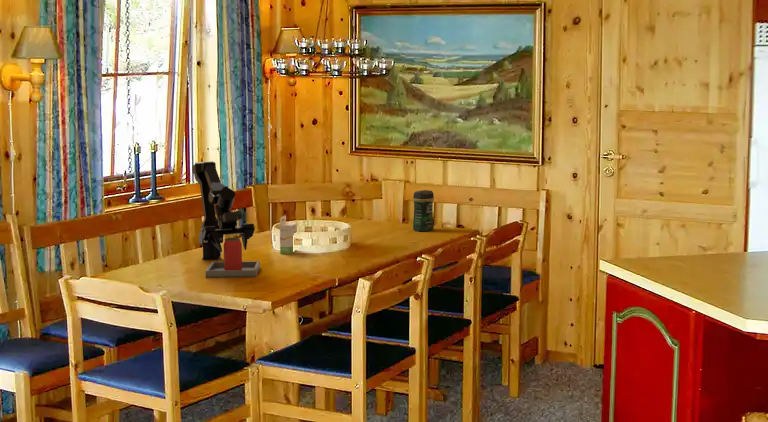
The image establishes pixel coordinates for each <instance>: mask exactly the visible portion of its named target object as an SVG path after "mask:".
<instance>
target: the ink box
mask: <svg viewBox="0 0 768 422" xmlns="http://www.w3.org/2000/svg"><path fill="white" fill-rule="evenodd" d="M297 225H298V224H297V222H287V216H286V214H285V215H283V216H281V217H280V218H279V249H280V250H279V251H280V253H279V254H283V255H285V254H287V255H292V254H293V253H294V252H293V235H294V233H296V232H297ZM292 252H293V253H292Z"/></svg>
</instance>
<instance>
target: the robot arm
mask: <svg viewBox="0 0 768 422" xmlns="http://www.w3.org/2000/svg"><path fill="white" fill-rule="evenodd" d="M216 164H217V163H216V162H215V161H198V162H194V164H193V165H192V167H191V168H192V169H191V170H192V174H193V175H194V179H195V181H196V182H197V183H198V185H199V189H200V195H201V205H202V212H203V222H202V224H201V227H200V228H201V229H200V231H199V235H198V243H199V245H200V244H201V245H202V260H219V259H220V258H221V257H222V252H223V249H222V244H224V236H225V235H226V236H227V235H239V234H240V235H241V243H242V247H243V249H244V250H246V251H247V249H248V248H247V247H248V240H249V239H251V238H253V237H254V232H255V230H256V229H255V224H254V223H243V224H242V226H241V227H237V226H238V221H240V220H242V219H243V213H242V211H241V209H240V210H235V211H232V209H231V208H233V205H234V202H235V199H236V192H235V191H234V190H233V189H231V188H229V186H228V185H227V186H226V185H225V184H223V183H222V181H221V180H220V177H219V176H220V175H219V173H218V170H217V167H216V166H217V165H216Z"/></svg>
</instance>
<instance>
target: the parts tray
mask: <svg viewBox="0 0 768 422" xmlns="http://www.w3.org/2000/svg"><path fill="white" fill-rule="evenodd" d="M260 269H261V261H260V260H258V261H257V260H254V261H253V260H252V261H247V260H245V261H243V260H242V270H224V261H211V263H210V264H209V266H208V267H207V268H206V270H205V279H215V278H217V279H218V278H219V279H222V278H224V279H227V278H229V279H230V278H233V279H234V278H256V277H257V275H258V274H259V271H260Z"/></svg>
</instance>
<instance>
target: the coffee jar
mask: <svg viewBox="0 0 768 422" xmlns="http://www.w3.org/2000/svg"><path fill="white" fill-rule="evenodd" d="M412 197H413V198H412V199H413V221H412V229H413V231H415V232H429V231H433V230H434V227H435V225H434V211H433V209H434V208H433V206H434V205H433V204H434V199H435V198H434V192H433V191H432V190H427V189H424V190H416V191H414V192H413V196H412Z"/></svg>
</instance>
